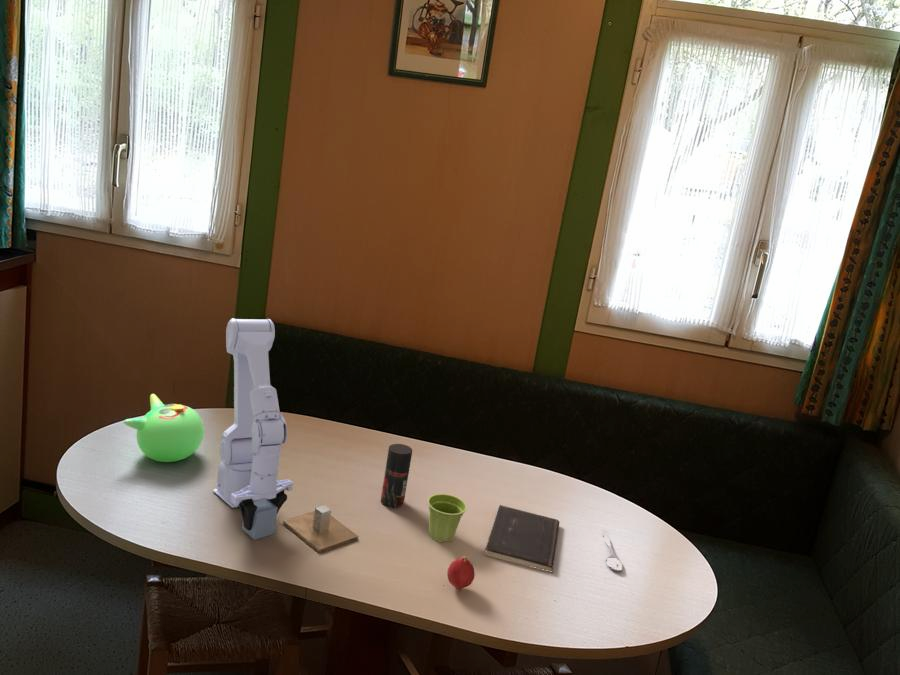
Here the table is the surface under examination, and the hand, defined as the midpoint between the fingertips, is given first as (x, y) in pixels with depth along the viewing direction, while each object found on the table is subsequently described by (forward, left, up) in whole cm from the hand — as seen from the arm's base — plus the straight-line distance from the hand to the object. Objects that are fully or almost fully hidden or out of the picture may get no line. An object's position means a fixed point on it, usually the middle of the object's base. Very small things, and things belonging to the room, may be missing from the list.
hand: (258, 524), depth 168 cm
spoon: (+50, +69, -2) cm, 85 cm away
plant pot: (+23, +36, -2) cm, 43 cm away
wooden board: (+7, +12, -2) cm, 14 cm away
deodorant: (+5, +36, -2) cm, 36 cm away
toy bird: (-42, -1, -2) cm, 42 cm away
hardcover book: (+35, +53, -2) cm, 64 cm away
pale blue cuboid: (0, 0, -2) cm, 2 cm away
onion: (+40, +24, -2) cm, 47 cm away
